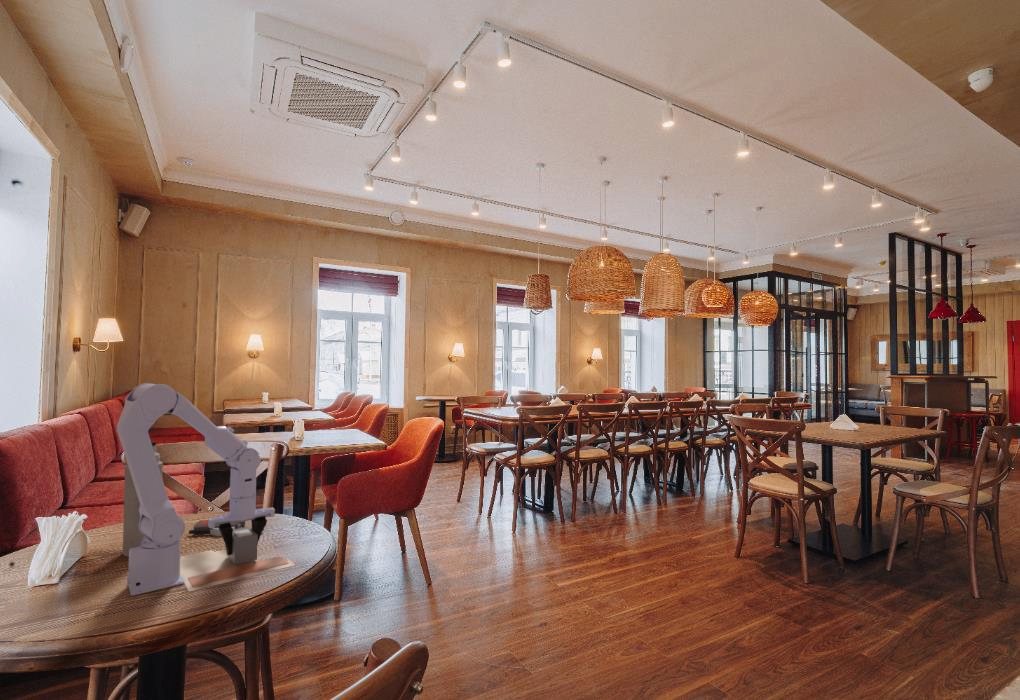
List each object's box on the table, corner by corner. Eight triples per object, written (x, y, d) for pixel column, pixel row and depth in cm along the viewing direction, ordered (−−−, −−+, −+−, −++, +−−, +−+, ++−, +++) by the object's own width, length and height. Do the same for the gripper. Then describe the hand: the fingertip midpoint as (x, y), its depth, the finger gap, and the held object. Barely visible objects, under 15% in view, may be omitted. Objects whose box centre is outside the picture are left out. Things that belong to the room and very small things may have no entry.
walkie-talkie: (184, 540, 140) (262, 535, 144) (185, 524, 140) (263, 519, 144) (197, 529, 148) (270, 525, 152) (197, 514, 148) (271, 510, 152)
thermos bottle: (127, 548, 132) (129, 440, 133) (163, 543, 136) (165, 438, 137) (118, 558, 125) (121, 445, 126) (157, 553, 129) (160, 443, 129)
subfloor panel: (188, 592, 107) (188, 591, 107) (171, 558, 126) (171, 557, 126) (295, 565, 122) (295, 564, 122) (266, 538, 140) (266, 538, 140)
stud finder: (234, 564, 120) (235, 538, 121) (226, 555, 126) (227, 530, 127) (257, 559, 124) (257, 533, 124) (248, 550, 130) (248, 525, 130)
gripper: (269, 487, 133) (268, 540, 133) (206, 497, 124) (204, 553, 123) (277, 493, 128) (276, 547, 128) (212, 503, 118) (211, 562, 118)
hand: (241, 551), depth 125 cm, fingers closed on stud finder, 5 cm apart
